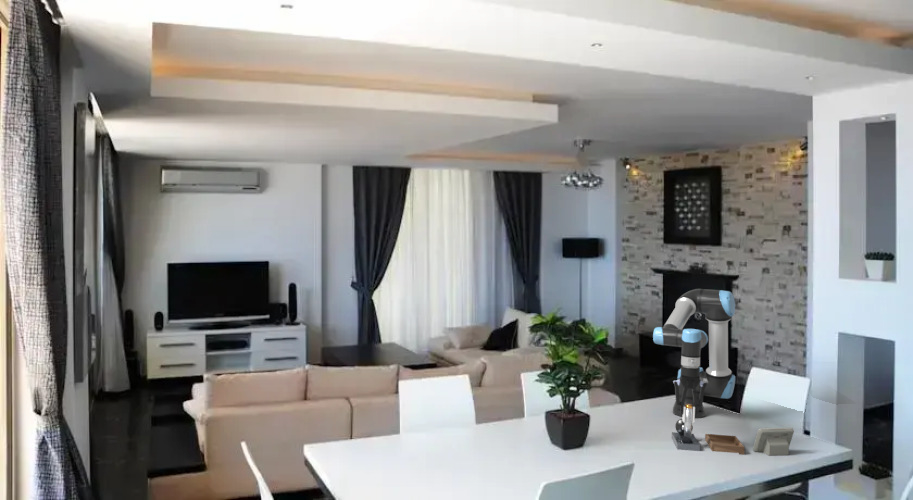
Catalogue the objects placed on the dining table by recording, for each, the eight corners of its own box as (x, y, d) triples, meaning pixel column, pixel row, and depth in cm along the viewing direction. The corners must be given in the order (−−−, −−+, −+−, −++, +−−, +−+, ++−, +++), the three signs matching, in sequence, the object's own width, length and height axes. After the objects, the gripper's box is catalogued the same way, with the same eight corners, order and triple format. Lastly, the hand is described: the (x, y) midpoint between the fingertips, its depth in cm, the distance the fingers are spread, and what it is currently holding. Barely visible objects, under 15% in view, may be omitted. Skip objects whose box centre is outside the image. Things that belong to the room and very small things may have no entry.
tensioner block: (671, 439, 312) (672, 416, 311) (692, 440, 310) (693, 417, 310) (677, 450, 296) (678, 426, 296) (699, 452, 295) (700, 428, 294)
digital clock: (788, 450, 301) (789, 425, 301) (797, 457, 292) (798, 431, 292) (749, 448, 302) (750, 423, 301) (757, 455, 293) (758, 429, 292)
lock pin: (683, 434, 301) (684, 403, 300) (690, 435, 300) (692, 404, 299) (684, 436, 298) (685, 405, 297) (692, 437, 297) (693, 406, 296)
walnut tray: (704, 440, 310) (705, 433, 310) (735, 443, 309) (735, 435, 308) (712, 452, 295) (712, 444, 295) (744, 454, 293) (744, 447, 293)
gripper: (671, 367, 295) (669, 423, 296) (712, 369, 292) (710, 425, 294) (669, 363, 302) (667, 418, 303) (708, 365, 300) (706, 420, 301)
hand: (688, 421), depth 299 cm, fingers closed on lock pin, 3 cm apart
